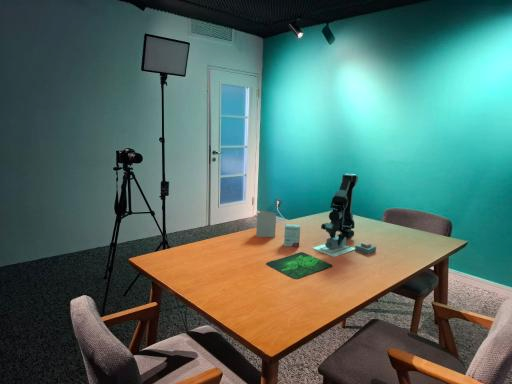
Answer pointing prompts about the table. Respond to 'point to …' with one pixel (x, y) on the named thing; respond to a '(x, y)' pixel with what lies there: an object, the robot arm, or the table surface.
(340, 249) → the paper sheet
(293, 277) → the mouse mat
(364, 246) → the button
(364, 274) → the table surface
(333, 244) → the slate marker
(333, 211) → the robot arm
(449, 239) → the table surface
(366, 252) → the button frame
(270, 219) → the greeting card
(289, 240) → the ink box
